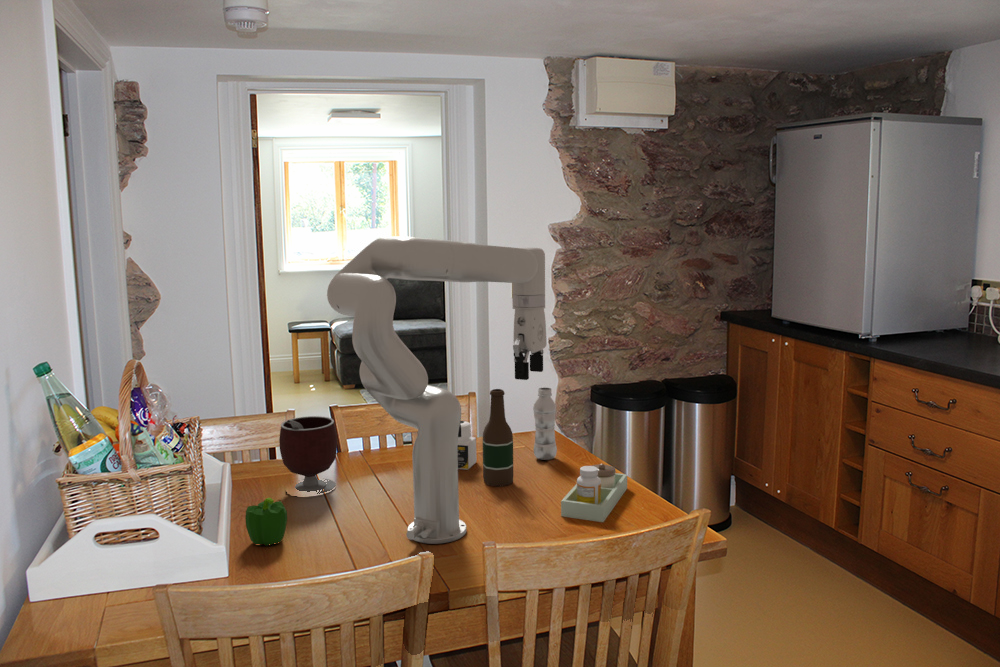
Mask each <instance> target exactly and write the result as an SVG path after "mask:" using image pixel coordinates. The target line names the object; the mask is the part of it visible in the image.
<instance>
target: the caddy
mask: <svg viewBox="0 0 1000 667" xmlns="http://www.w3.org/2000/svg"><path fill="white" fill-rule="evenodd" d="M627 489H628V474H625V473H618V472H617V473H616V472H615V486H614V488H613V489H612V488H604V487H601V505H598V504H591V503H583V502H577V483H576V484H575V485H574V486H573V487H572V488H571V489H570V490H569V491H568V493H566V495H564V497H563V498H562V500H560V516H561V517H564V518H571V519H576V520H577V519H579V520H584V521H590V522H591V521H593V522H599V523H604V522H605V521H606V519H607V518H608V517H609V515H610V513H612V511H613V509H614V508H615V507H616V505H617V504H618V502H619V501H620V499H622V496H623V495H624V494H625V492H626V491H627Z"/></svg>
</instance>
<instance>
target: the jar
mask: <svg viewBox="0 0 1000 667" xmlns="http://www.w3.org/2000/svg"><path fill="white" fill-rule="evenodd" d="M592 466H594V467H597V468H598V475H597V477H599V478H600V480H601V487H604V488H612V489H613V488H614V486H615V473H616V468H615V466H612V465H610V464H609V465H608V464H604V463H599V464H592Z"/></svg>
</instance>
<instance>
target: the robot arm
mask: <svg viewBox="0 0 1000 667" xmlns="http://www.w3.org/2000/svg"><path fill="white" fill-rule="evenodd" d="M545 254H546V252H545V251H544V250H543V249H542V248H540V247H539V248H538V247H509V246H499V245H498V246H497V245H488V244H479V243H473V242H467V241H458V240H448V239H436V238H435V239H434V238H425V237H416V236H415V237H414V236H381V237H379V238H376V239H375V240H373V241H372V242H370V243H369V244H368V245H367V246H365V247H364V248H363V249H362V250H361V251H360V252H359V253H357V255H355V256H354V258H352V259H351V260H350V261H349V262H348V263H347V264H345V266H344V267H342V269H340V270H339V271H338V272H337V273H336V274H335V275H334V276H333V278H332V279H331V281H330V282H329V284H328V286H327V291H326V292H327V294H326V297H327V302H328V304H329V305H330V307H331V308H332V309H333V310H334V311H335V312H337V313H338V314H341V315H344V316H349V317H353V322H352V334H351V335H352V337H351V340H352V346H353V349H354V352H355V353H356V355H357V356H358V358H359V359H360V360H361V362H360V366H359V378H360V381H361V384H362V386H363V387H364V390H366V392H368V394H369V395H370V396H371V397H372V398H373V399H374V400H375V401H376V403H378V405H380V407H382V408H383V409H384V411H385V412H386V413H387V414H389V416H390V417H391V418H393V419H394V420H395V421H396V422H398V423H400V424H402V425H405V426H408V427H411V428H414V429H416V430H417V435H416V438H415V440H414V442H413V446H412V477H413V478H412V482H413V483H412V484H413V485H412V486H413V487H412V488H413V510H414V511H413V513H414V516H413V517H414V518H413V521H412V522H411V523H410V524H409V525H408V526H407V528H406V529H407V532H406V538H407V539H408V540H410V541H415V542H417V543H421V544H428V545H440V544H446V543H451V542H454V541H457V540H460V539H461V538H462V537H464V536H465V535H466V533H467V530H468V529H467V524H466V523H465V521H463V520H461V519H460V504H459V502H460V498H459V496H460V494H459V469H458V433H459V426H460V421H462V405H461V403H460V401H459V399H458V397H457V396H456V395H455V394H454V393H452V392H451V391H449V390H447V389H445V388H442V387H439V386H434V385H431V384H429V376H428V372H427V370H426V368H425V367H424V365H423V364H422V362H421V361H420V360H419V359H418V358H417V357H416V356H415V354H413V352H412V351H411V350H410V349H409V348H408V347H407V345H406V344H405V343H404V342H403V340H402V339H401V338H400V336H399V335H398V334H397V332H396V330H395V327H394V313H395V309H396V304H397V296H396V295H397V294H396V291H395V288H394V286H393V284H392V283H391V282H390V281H389V280H388V279H398V280H406V281H407V280H408V281H427V282H428V281H429V282H448V283H450V282H451V283H478V282H479V283H482V282H483V283H486V282H488V283H505V284H506V283H511V284H512V285H511V286H512V290H511V291H512V292H511V294H512V297H511V298H512V302H511V303H512V309H513V310H514V318H513V344H512V349H513V362H514V379H515V380H521V381H522V380H523V381H527V380H529V378H530V372H535V373H536V372H537V373H538V372H539V373H542V372H544V349H545V348H546V347H547V328H546V327H547V324H546V313H545V309H546V255H545ZM528 359H529V361H528Z"/></svg>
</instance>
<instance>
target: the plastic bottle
mask: <svg viewBox="0 0 1000 667" xmlns="http://www.w3.org/2000/svg"><path fill="white" fill-rule="evenodd" d="M537 396H538V398H537V399H536V400H535V401H534V404H533V408H532V409H533V416H534V425H535V435H534V443H533V454H534V457H535V458H536V459H537V460H541V461H548V460H549V461H550V460H553V459H555V457H556V456H557V452H558V449H557V443H556V434H555V433H556V432H555V427H556V426H555V421H556V414H557V406H556V403H555V401H554V400H553V399H552V397H553V396H552V388H550V387H539V388H538V390H537Z"/></svg>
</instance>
